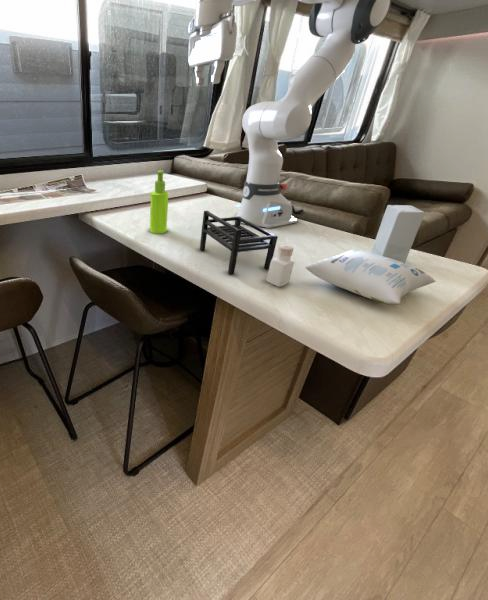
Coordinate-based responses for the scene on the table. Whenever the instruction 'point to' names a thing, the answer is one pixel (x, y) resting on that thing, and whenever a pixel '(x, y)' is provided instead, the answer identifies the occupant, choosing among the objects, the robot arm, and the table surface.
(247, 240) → the rack
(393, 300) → the pouch
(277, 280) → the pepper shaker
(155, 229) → the soap dispenser
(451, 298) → the table surface
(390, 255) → the cosmetic box
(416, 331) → the table surface
